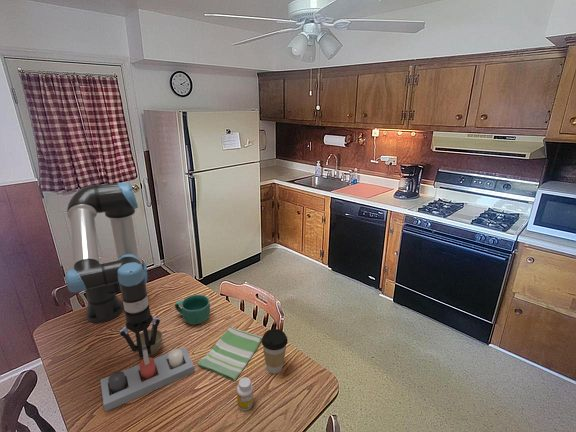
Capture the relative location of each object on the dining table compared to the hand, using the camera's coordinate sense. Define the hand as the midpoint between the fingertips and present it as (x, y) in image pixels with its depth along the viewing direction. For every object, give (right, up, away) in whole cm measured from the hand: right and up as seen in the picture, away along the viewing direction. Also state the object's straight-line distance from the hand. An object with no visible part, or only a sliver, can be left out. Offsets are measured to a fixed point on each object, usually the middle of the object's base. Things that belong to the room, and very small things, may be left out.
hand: (146, 362), depth 113 cm
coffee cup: (+46, -7, +9) cm, 47 cm away
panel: (0, -8, +3) cm, 8 cm away
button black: (-8, -9, -3) cm, 12 cm away
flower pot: (-5, -3, +16) cm, 17 cm away
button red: (0, -6, +2) cm, 7 cm away
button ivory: (+8, -5, +8) cm, 12 cm away
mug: (+6, +4, +36) cm, 36 cm away
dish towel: (+28, -4, +16) cm, 33 cm away
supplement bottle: (+37, -12, -6) cm, 39 cm away
